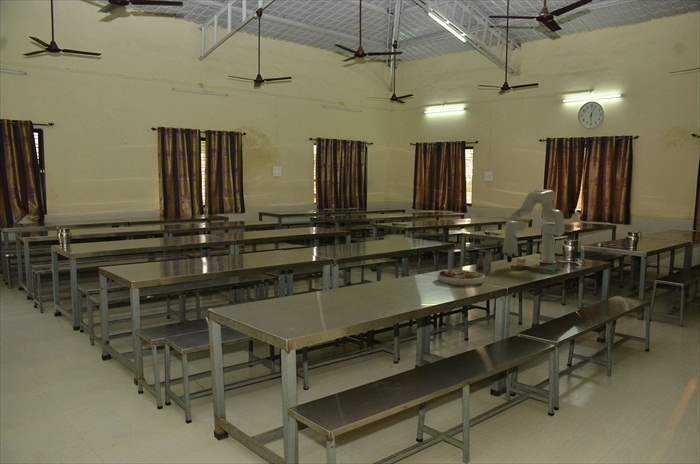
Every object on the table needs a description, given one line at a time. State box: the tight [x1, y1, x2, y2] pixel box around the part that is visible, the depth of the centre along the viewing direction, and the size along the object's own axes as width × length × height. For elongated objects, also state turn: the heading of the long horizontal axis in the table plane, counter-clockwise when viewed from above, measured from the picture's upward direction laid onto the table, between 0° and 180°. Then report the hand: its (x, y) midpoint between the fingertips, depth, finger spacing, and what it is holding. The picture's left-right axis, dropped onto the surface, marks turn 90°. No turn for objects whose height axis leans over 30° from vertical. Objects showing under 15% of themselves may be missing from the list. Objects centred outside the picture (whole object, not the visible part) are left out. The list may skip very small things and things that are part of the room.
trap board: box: [510, 261, 558, 275], centre depth 388 cm, size 17×29×3 cm, turn 60°
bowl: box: [436, 269, 486, 287], centre depth 342 cm, size 30×30×8 cm
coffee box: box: [475, 249, 493, 275], centre depth 372 cm, size 9×6×16 cm
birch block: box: [516, 256, 526, 265], centre depth 392 cm, size 5×5×5 cm
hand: (509, 262), depth 396 cm, fingers closed
